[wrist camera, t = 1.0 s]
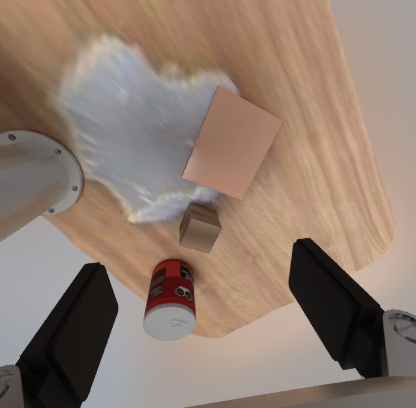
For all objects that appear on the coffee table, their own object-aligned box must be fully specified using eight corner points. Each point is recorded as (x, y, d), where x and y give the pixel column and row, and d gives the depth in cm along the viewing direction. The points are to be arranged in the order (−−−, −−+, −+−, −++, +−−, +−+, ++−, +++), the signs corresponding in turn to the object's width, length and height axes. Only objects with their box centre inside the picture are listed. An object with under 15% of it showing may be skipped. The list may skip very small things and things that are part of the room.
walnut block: (204, 234, 38) (208, 253, 32) (179, 226, 36) (179, 245, 31) (215, 211, 36) (222, 228, 30) (190, 202, 35) (191, 218, 29)
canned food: (193, 285, 42) (197, 337, 32) (155, 290, 41) (146, 345, 31) (191, 256, 39) (194, 303, 29) (149, 260, 38) (138, 310, 28)
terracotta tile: (240, 198, 35) (241, 200, 35) (182, 175, 33) (182, 177, 32) (280, 120, 31) (283, 120, 30) (217, 86, 28) (218, 85, 27)
